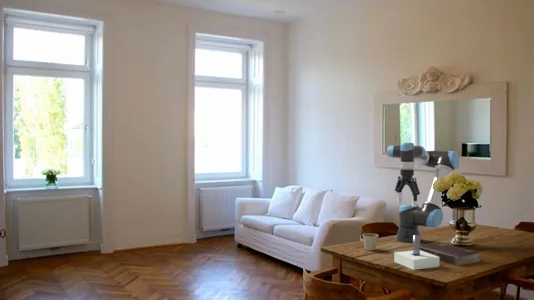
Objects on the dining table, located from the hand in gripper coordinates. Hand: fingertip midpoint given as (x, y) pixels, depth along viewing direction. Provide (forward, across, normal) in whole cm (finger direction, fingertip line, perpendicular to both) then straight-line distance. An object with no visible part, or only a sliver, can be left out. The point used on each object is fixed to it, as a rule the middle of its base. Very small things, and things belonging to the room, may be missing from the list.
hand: (406, 205), depth 274 cm
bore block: (+27, +27, -14) cm, 40 cm away
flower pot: (+27, -9, -19) cm, 34 cm away
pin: (+26, +27, -14) cm, 40 cm away
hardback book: (+27, +21, +11) cm, 36 cm away
